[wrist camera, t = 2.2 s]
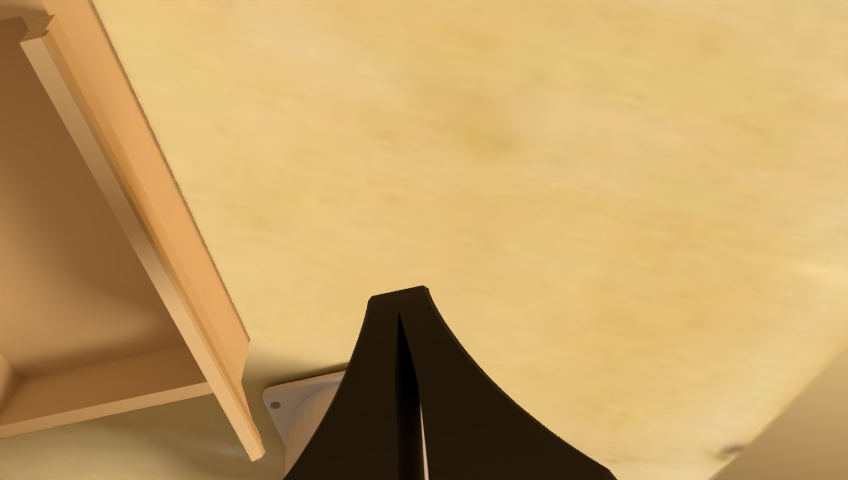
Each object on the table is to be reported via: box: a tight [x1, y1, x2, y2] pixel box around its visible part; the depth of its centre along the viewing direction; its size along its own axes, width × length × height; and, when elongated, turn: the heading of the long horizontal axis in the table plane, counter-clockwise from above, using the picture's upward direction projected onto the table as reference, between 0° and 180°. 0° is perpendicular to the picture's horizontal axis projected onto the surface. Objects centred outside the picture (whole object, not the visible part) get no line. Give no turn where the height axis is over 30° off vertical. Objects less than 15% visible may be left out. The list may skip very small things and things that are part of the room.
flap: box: [20, 14, 265, 462], centre depth 17 cm, size 14×4×1 cm
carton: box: [0, 0, 250, 439], centre depth 21 cm, size 16×11×3 cm
